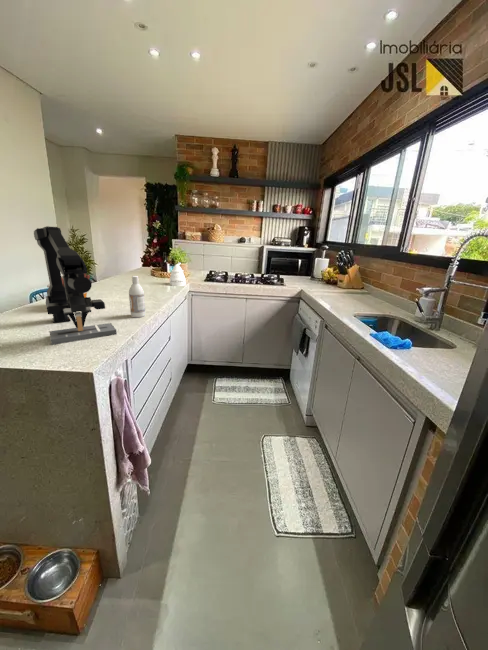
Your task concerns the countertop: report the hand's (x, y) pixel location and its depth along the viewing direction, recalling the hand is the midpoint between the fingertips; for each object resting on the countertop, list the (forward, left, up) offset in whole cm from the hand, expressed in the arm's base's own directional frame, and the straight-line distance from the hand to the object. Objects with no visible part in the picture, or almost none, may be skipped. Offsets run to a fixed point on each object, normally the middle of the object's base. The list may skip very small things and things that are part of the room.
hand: (80, 327), depth 105 cm
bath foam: (-17, +27, -4) cm, 32 cm away
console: (0, +1, -4) cm, 4 cm away
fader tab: (0, 0, -1) cm, 1 cm away
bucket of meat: (-47, +2, -4) cm, 47 cm away
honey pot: (-90, +80, -4) cm, 120 cm away
